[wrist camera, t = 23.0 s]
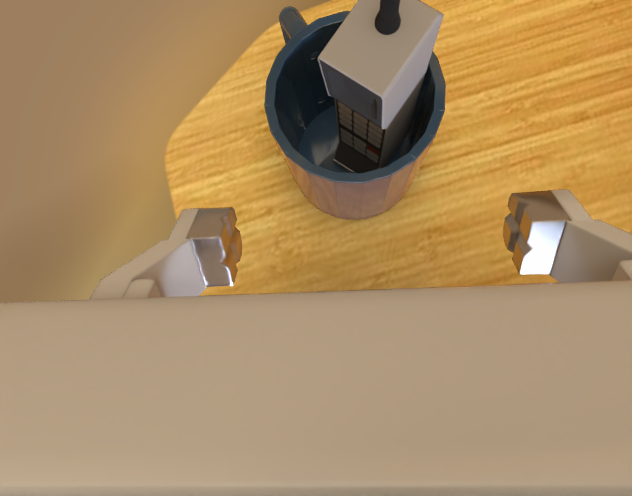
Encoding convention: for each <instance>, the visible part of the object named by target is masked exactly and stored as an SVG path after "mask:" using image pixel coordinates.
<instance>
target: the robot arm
mask: <svg viewBox="0 0 632 496" xmlns="http://www.w3.org/2000/svg"><path fill="white" fill-rule="evenodd" d="M508 207H509V209H510V211H511V213H510V214H509V215H508V216H507V217H506V218H505V221H504V227H503V237H504V242H505V245H506V247H507V249H508V250H509V251H511V252H513V258H512V260H513V262H514V264H515V266H516V268H517V270H518V273H519V274H550V275H551V276H552V277H553V278H555V279H556V280H557V281H559V282H560V283H542V284H514V285H487V286H459V287H431V288H403V289H375V290H347V291H320V292H292V293H264V294H236V295H208V296H199V295H200V294H201V293H202V292H203V291H204V290H205V289H206V287H212V286H228V285H234V282H235V278H236V274H237V271H238V270H237V266H236V264H237V263H238V262H239V261H240V259H241V255H242V241H241V235H240V231H239V230H238V229H237V228H236V227H235V224H236V221H237V218H236V214H235V210H234V209H233V208H232V207H224V208H201V209H200V208H194V209H184V210H182V212H181V214H180V216H179V218H178V220H177V222H176V224H175V226H174V228H173V230H172V232H171V234H170V236H169V238H168V240H162V241H161V242H159V243H157V244H156V245H154V246H153V247H152V248H150V249H148V250H147V251H145V252H143V253H142V254H140V255H139V256H137V257H136V258H134V259H132V260H131V261H129V262H128V263H126V264H125V265H123V266H121V267H120V268H118V269H117V270H115V271H114V272H112V273H111V274H109V275H108V276H106V277H104V278H103V279H101V281H100V282H99V284H98V285H97V287H96V289H95V290H94V292H93V294H92V295H91V297H90V299H89V300H70V301H69V300H68V301H41V302H11V303H0V496H632V234H630V233H628V232H626V231H623V230H621V229H619V228H616V227H614V226H612V225H610V224H607V223H605V222H603V221H601V220H593V219H592V218H591V217H590V215H589V214H588V213H587V212H586V210H585V209H584V208H583V206H582V205H581V204H580V203H579V201H578V200H577V199H576V197H575V196H574V195H573V194H572V192H571V191H570V190H568V189H559V190H548V191H536V192H523V193H512V194H511V196H510V198H509V202H508Z"/></svg>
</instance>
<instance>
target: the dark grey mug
mask: <svg viewBox="0 0 632 496" xmlns="http://www.w3.org/2000/svg"><path fill="white" fill-rule="evenodd" d="M349 13H350V11H343V12H340V13H336V14H333V15H330V16H326V17H323V18H319V19H317V20H315V21H314V22H312V23H311V24H309V25H307V23H306V22H305V20H304V19H303V17H302V16H301V14H300V13H299V12H298V10H297V9H296V8H294V7H291V6H290V7H289V6H288V7H285V8H284V9H283V10H282V11H281V12H280V15H279V21H280V25H281V28H282V32H283V36H284V40H285V43H286V45H285V46H284V47H283V48H282V50H281V51H280V52H279V53H278V55H277V56H276V59H275V61H274V63H273V66H272V68H271V70H270V73H269V75H268V78H267V81H266V92H265V104H264V106H265V111H266V115H267V119H268V123H269V127H270V131H271V134H272V136H273V138H274V140H275V142H276V144H277V146H278V148H279V150H280V152H281V154H282V156H283V158H284V160H285V162H286V164H287V166H288V168H289V170H290V172H291V174H292V176H293V178H294V180H295V182H296V183H297V185H298V186H299V188H300V190H301V192H302V193H303V194H304V196H305V197H306V198H307V199H308V200H309V201H310V202H311V203H312V204H313V205H314V206H315V207H317V208H318V209H319V210H321V211H323V212H325V213H327V214H329V215H331V216H334V217H338V218H342V219H356V220H357V219H365V218H369V217H373V216H376V215H378V214H381V213H383V212H385V211H386V210H388V209H390V208H391V207H392V206H394V205H395V204H396V203H397V202H398V201H399V200H400V199H401V198H402V197H403V196H404V194H405V193H406V192H407V190H408V189H409V188H410V186H411V184H412V182H413V180H414V178H415V176H416V174H417V172H418V170H419V168H420V166H421V164H422V162H423V160H424V158H425V156H426V154H427V152H428V150H429V148H430V146H431V144H432V142H433V140H434V138H435V135H436V133H437V130H438V127H439V125H440V122H441V120H442V117H443V114H444V111H445V88H446V85H445V80H444V77H443V74H442V71H441V67H440V64H439V61H438V58H437V56H436V55H435V54H434V52H433V51H432V54H431V57H430V60H429V64H428V67H427V70H426V73H425V76H424V80H423V83H422V86H421V89H420V92H419V96H418V99H417V102H416V105H415V108H414V112H413V115H412V118H411V121H410V124H409V128H408V131H407V134H406V137H405V139H404V141H403V142H402V143H401V145H400V146H399V148H398V149H397V151H396V152H395V153H394V155H393V156H392V158H391V159H390V161H389V162H388V164H387V165H386V166H385V167H383V168H379V169H376V170H372V171H368V172H364V173H349V172H347V171H346V170H344V169H343V168H341V167H339V166H338V165H336V164H335V163H334V162H333V157H334V154H335V151H336V148H337V145H338V142H339V138H338V128H337V118H336V108H335V98H334V97H332V96H328V93H327V90H326V86H325V83H324V79H323V76H322V72H321V69H320V66H319V62H318V56H319V55H320V54H321V52H322V51H323V49H324V48H325V47H326V45H327V44H328V42H329V41H330V39H331V38H332V37H333V35H334V34H335V32H336V31H337V30H338V28H339V27H340V25H341V24H342V23H343V21H344V20H345V18H346V17H347V16H348V14H349Z"/></svg>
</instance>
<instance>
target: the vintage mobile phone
mask: <svg viewBox="0 0 632 496" xmlns="http://www.w3.org/2000/svg"><path fill="white" fill-rule="evenodd" d="M442 19H443V14H442V13H441V12H439V11H437V10H436V9H434V8H432V7H430V6H429V5H427V4H425V3H423V2H422V1H420V0H358V2H357V3H356V4H355V6H354V7H353V9H352V10H351V11H350V13H349V14H348V16H347V17H346V18H345V20H344V21H343V23H342V24H341V25H340V27H339V28H338V30H337V31H336V32H335V34H334V35H333V37H332V38H331V39H330V41H329V42H328V44H327V45H326V47H325V48H324V49H323V51H322V52H321V54H320V55H319V56H318V62H319V66H320V69H321V72H322V76H323V79H324V83H325V86H326V90H327V93H328V96H332V97H334V98H335V108H336V118H337V128H338V138H339V142H338V145H337V148H336V151H335V154H334V157H333V162H334V163H335V164H336V165H338V166H339V167H341V168H343V169H344V170H346V171H347V172H349V173H364V172H368V171H372V170H376V169H379V168H383V167H385V166H386V165H387V164H388V162H389V161H390V159H391V158H392V156H393V155H394V153H395V152H396V151H397V149H398V148H399V146H400V145H401V143H402V142H403V141H404V139H405V137H406V134H407V131H408V128H409V124H410V121H411V118H412V115H413V112H414V108H415V105H416V102H417V99H418V96H419V92H420V89H421V86H422V83H423V80H424V76H425V73H426V70H427V67H428V64H429V60H430V57H431V54H432V51H433V48H434V44H435V41H436V38H437V35H438V32H439V28H440V25H441V22H442Z"/></svg>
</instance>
